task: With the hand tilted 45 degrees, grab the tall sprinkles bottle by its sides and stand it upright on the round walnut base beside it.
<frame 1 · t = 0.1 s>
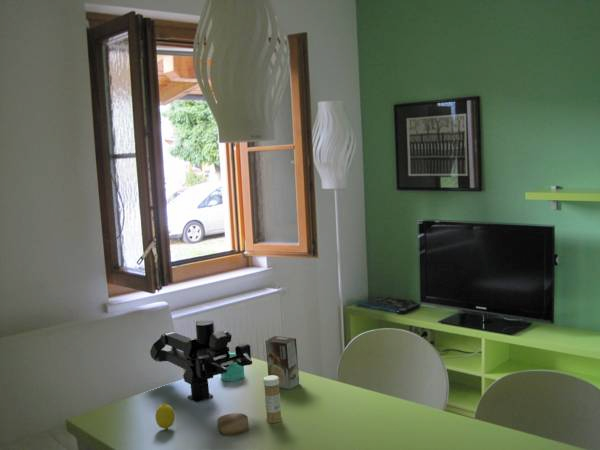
hand: (239, 366, 201), 17 cm above the table, tool horizontal, fingers open, 9 cm apart
coffee box: (284, 385, 230), on the table
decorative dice: (232, 378, 241), on the table
sprinkles bottle: (274, 421, 201), on the table
lemon: (166, 430, 200), on the table
walnut base: (233, 429, 197), on the table
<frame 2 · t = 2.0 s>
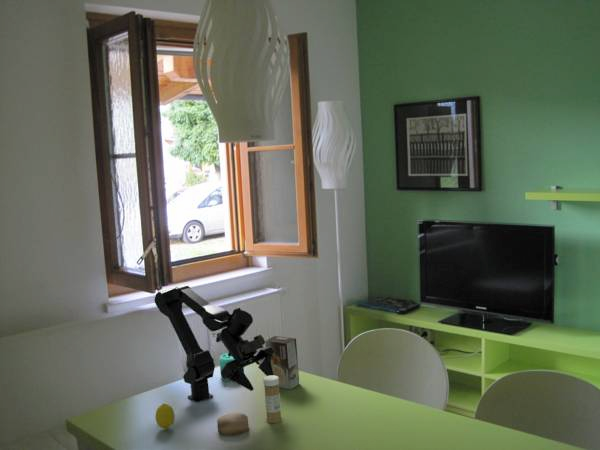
hand: (263, 385, 202), 10 cm above the table, tool tilted 45°, fingers open, 9 cm apart
nothing on the table moved.
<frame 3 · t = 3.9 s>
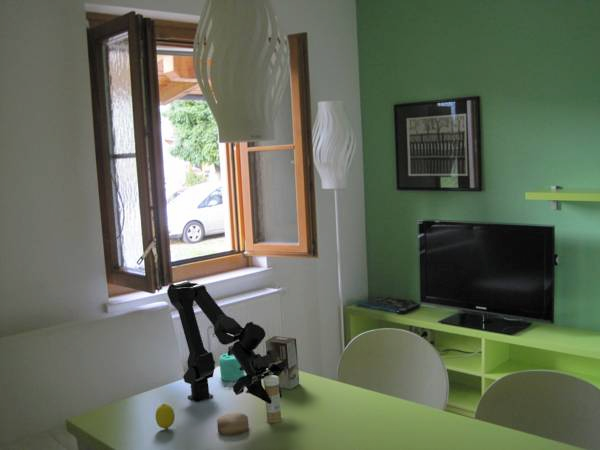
hand: (276, 400, 200), 7 cm above the table, tool tilted 45°, fingers closed on sprinkles bottle, 4 cm apart
sprinkles bottle: (274, 421, 201), on the table, touching gripper
everything else where it was.
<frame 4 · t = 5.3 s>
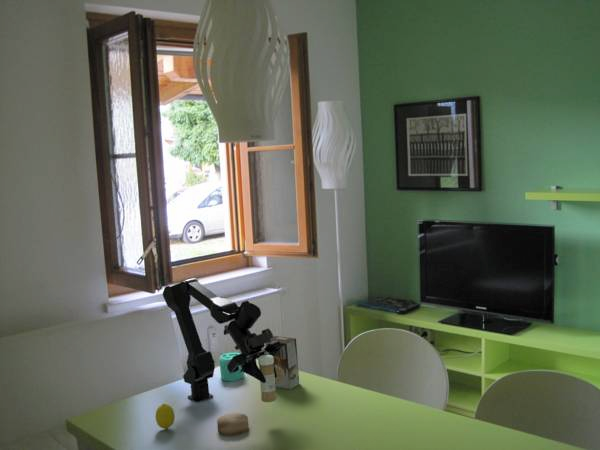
hand: (270, 379, 198), 13 cm above the table, tool tilted 45°, fingers closed on sprinkles bottle, 4 cm apart
sprinkles bottle: (268, 400, 200), point 6 cm above the table, touching gripper
everything else where it was.
when the fingers open (11 cm above the table, at t = 7.1 s): sprinkles bottle drops 1 cm, resting on walnut base.
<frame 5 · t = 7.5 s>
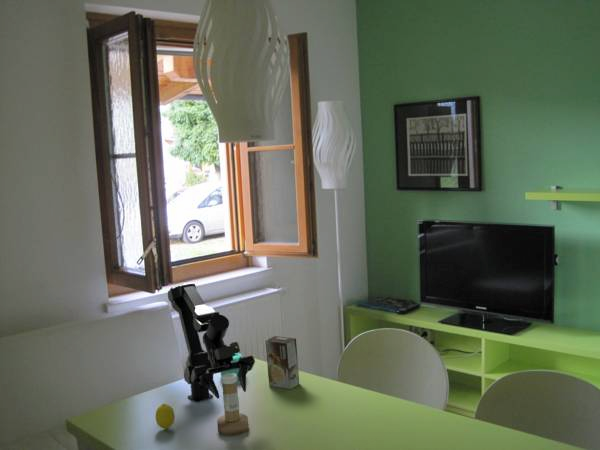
hand: (232, 394, 194), 11 cm above the table, tool tilted 45°, fingers open, 8 cm apart
sprinkles bottle: (232, 419, 197), point 3 cm above the table, touching walnut base
everything else where it was.
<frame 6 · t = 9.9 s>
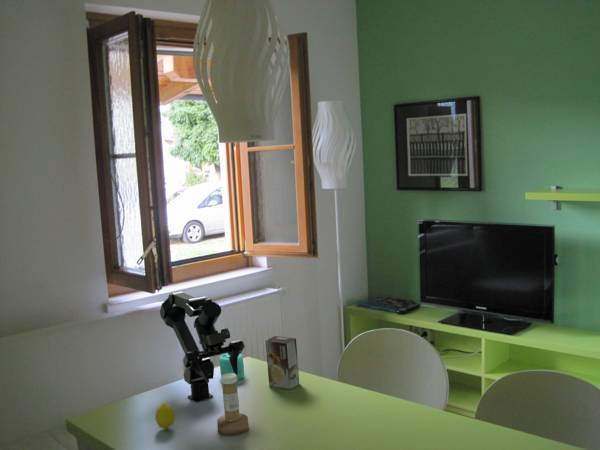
hand: (222, 378, 204), 13 cm above the table, tool tilted 40°, fingers open, 9 cm apart
nothing on the table moved.
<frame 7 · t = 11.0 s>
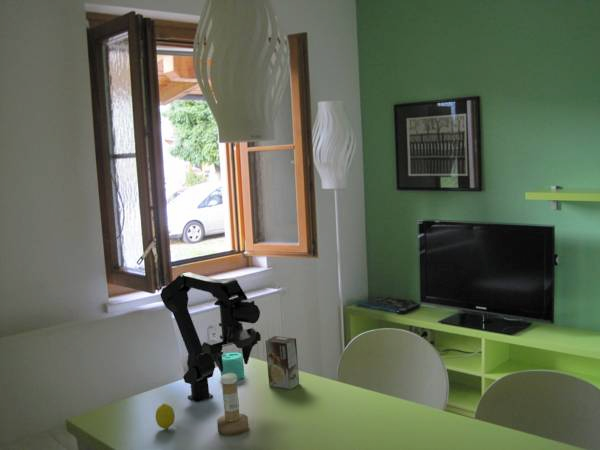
hand: (233, 367, 212), 13 cm above the table, tool pointing down, fingers open, 9 cm apart
nothing on the table moved.
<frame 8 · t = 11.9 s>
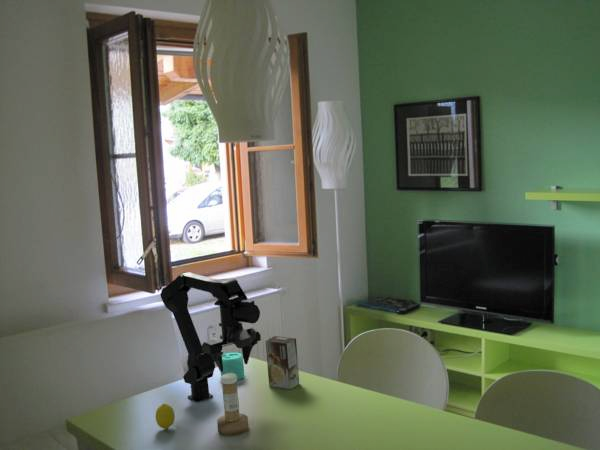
hand: (233, 367, 212), 13 cm above the table, tool pointing down, fingers open, 9 cm apart
nothing on the table moved.
at the end: sprinkles bottle 0.1 cm off-centre on the walnut base, point 2.8 cm above the walnut base's base; sprinkles bottle tilted 0°; the gripper is holding nothing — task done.
